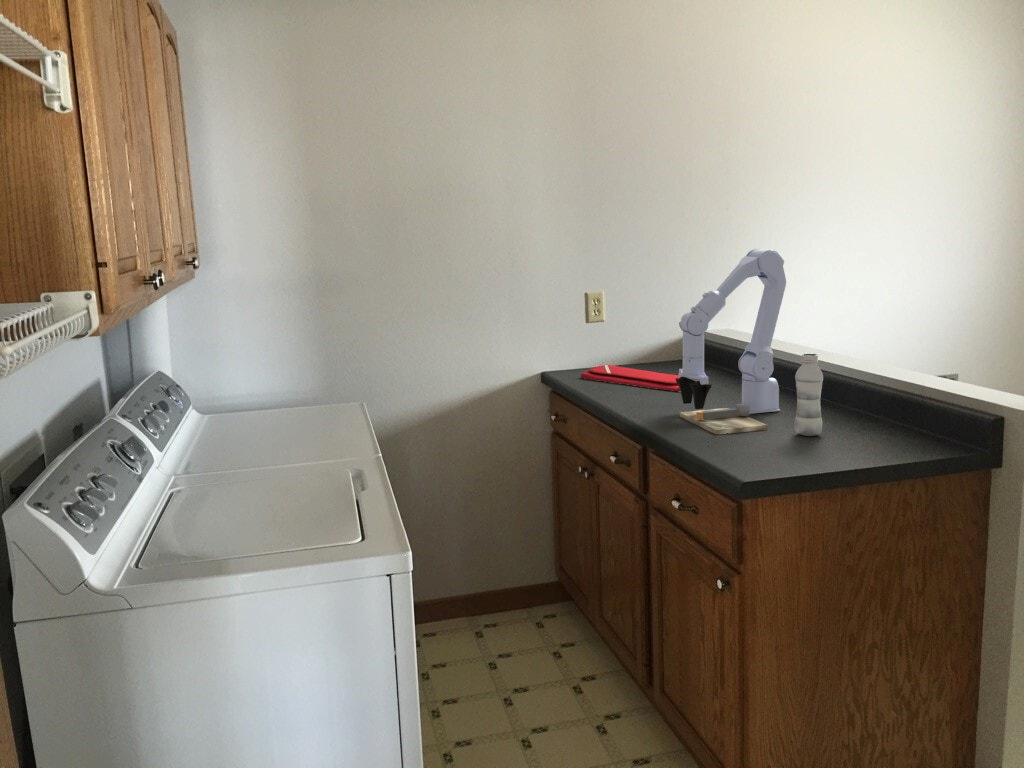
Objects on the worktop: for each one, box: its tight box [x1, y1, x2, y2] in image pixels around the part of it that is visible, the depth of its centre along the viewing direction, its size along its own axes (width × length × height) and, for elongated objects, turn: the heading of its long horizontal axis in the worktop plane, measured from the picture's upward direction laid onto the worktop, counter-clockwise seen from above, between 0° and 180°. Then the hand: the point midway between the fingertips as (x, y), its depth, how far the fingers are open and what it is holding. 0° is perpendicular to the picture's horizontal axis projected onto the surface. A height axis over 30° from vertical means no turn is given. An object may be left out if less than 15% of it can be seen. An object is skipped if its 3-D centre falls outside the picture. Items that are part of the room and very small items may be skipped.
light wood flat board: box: [679, 407, 768, 435], centre depth 237 cm, size 15×23×1 cm, turn 14°
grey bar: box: [696, 402, 751, 420], centre depth 237 cm, size 15×4×3 cm, turn 104°
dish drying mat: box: [580, 364, 697, 391], centre depth 298 cm, size 16×41×4 cm, turn 44°
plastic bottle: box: [793, 353, 824, 437], centre depth 220 cm, size 6×7×20 cm
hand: (693, 406), depth 247 cm, fingers open, 7 cm apart
